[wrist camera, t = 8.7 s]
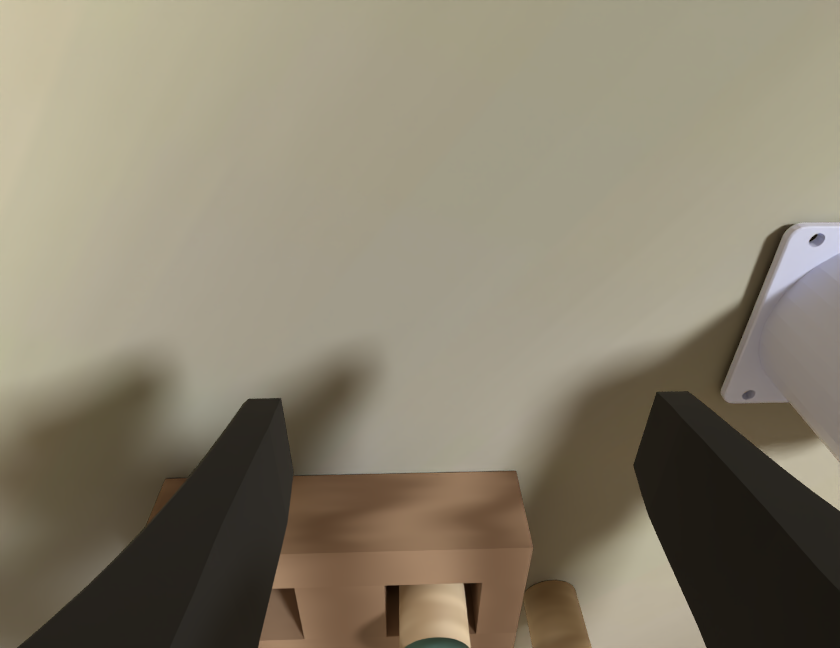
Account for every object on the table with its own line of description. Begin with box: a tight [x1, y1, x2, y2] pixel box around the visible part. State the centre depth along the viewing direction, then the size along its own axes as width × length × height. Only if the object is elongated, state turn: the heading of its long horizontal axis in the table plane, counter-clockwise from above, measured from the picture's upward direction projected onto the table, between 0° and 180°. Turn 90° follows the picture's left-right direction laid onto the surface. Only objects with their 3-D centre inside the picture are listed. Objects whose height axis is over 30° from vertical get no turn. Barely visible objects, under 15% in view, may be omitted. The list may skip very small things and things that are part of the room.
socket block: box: [146, 471, 533, 648], centre depth 27 cm, size 16×9×4 cm, turn 89°
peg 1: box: [399, 583, 471, 648], centre depth 26 cm, size 3×3×7 cm
